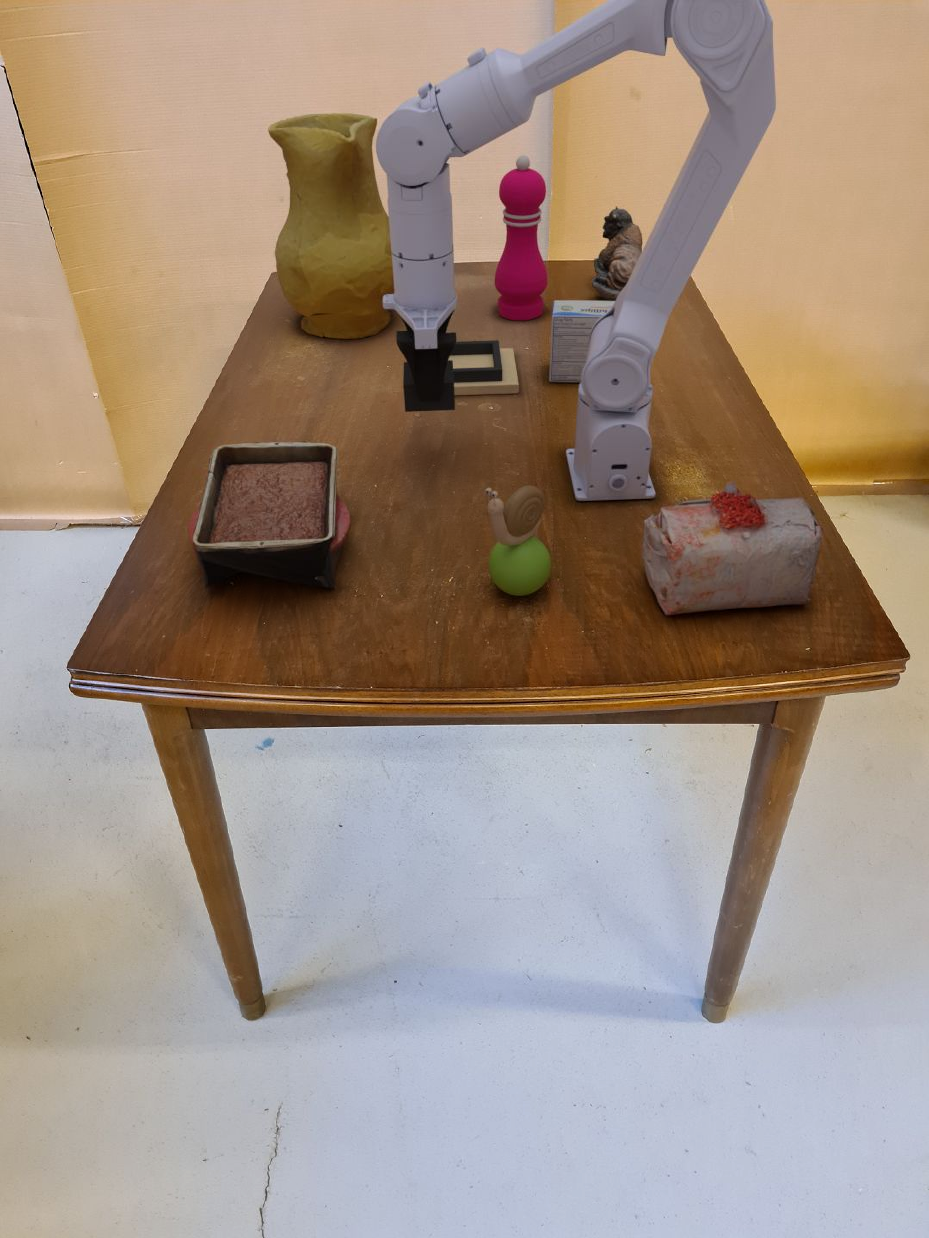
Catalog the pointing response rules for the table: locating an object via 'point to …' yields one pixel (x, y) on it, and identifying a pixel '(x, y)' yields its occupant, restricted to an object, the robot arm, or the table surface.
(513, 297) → the pepper mill
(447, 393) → the black block
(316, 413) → the table surface
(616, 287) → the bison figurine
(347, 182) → the pitcher
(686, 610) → the food item
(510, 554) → the snail figurine
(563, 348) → the medicine box
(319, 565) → the baking dish
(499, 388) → the base pad
